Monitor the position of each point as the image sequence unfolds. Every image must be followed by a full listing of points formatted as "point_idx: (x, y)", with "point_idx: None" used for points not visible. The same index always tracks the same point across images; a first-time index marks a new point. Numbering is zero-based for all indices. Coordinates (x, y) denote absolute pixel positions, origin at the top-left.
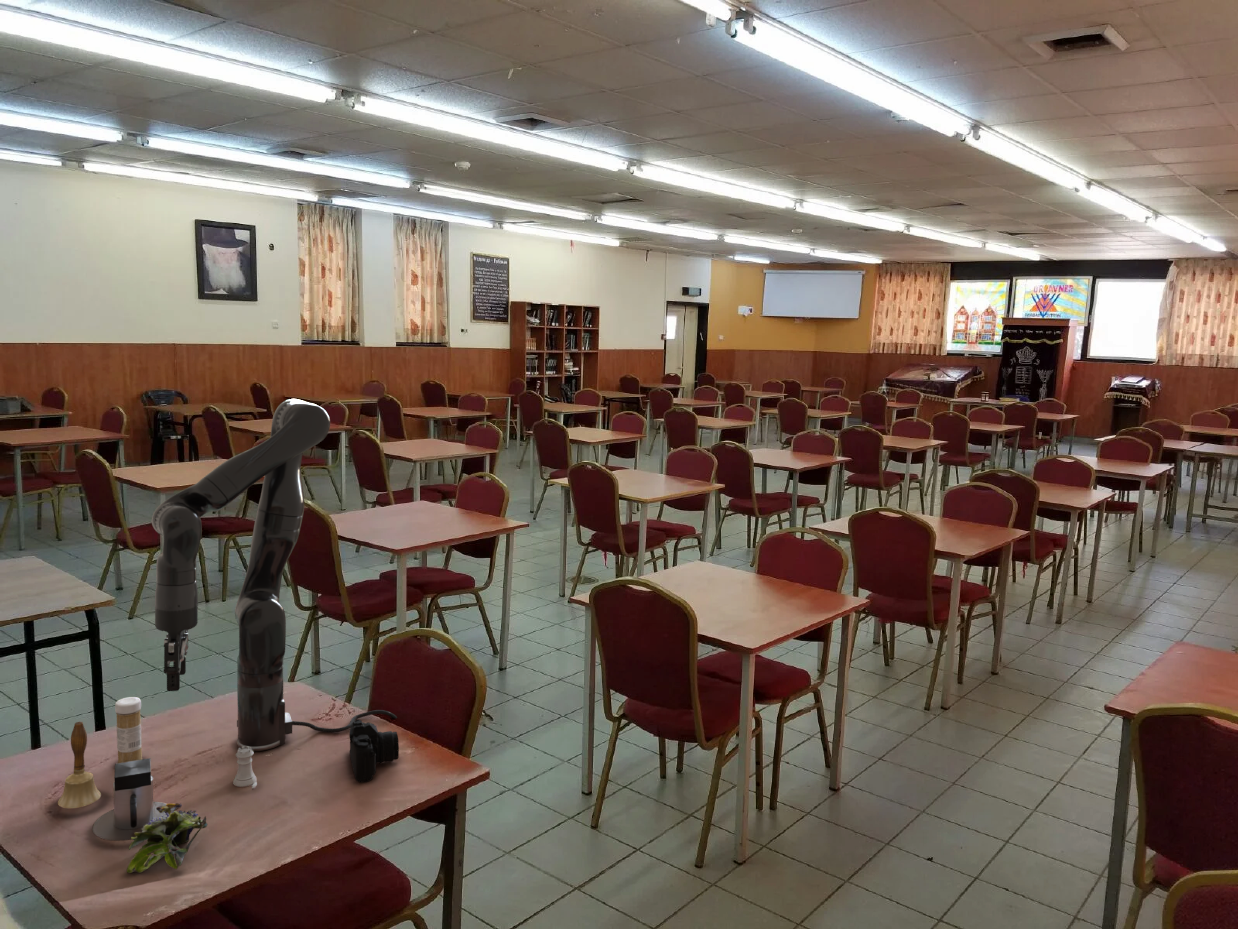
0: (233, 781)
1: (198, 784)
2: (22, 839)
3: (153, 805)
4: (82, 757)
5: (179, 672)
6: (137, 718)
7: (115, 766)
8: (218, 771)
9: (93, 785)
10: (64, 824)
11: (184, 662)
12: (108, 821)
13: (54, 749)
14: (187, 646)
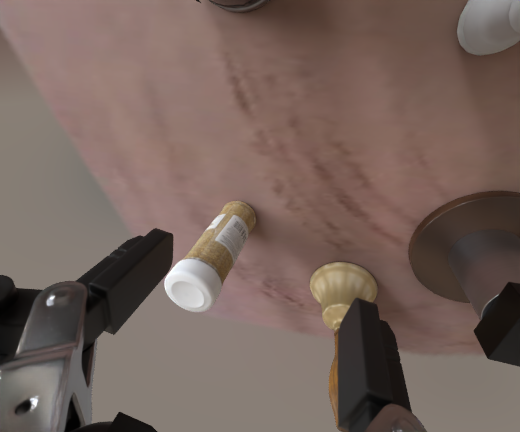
0: (490, 52)
1: (388, 128)
2: (398, 343)
3: (516, 244)
4: None
5: (386, 397)
6: (218, 256)
7: (507, 363)
8: (351, 77)
9: (353, 296)
10: (391, 309)
11: (132, 271)
12: (454, 283)
13: None
14: (64, 401)
